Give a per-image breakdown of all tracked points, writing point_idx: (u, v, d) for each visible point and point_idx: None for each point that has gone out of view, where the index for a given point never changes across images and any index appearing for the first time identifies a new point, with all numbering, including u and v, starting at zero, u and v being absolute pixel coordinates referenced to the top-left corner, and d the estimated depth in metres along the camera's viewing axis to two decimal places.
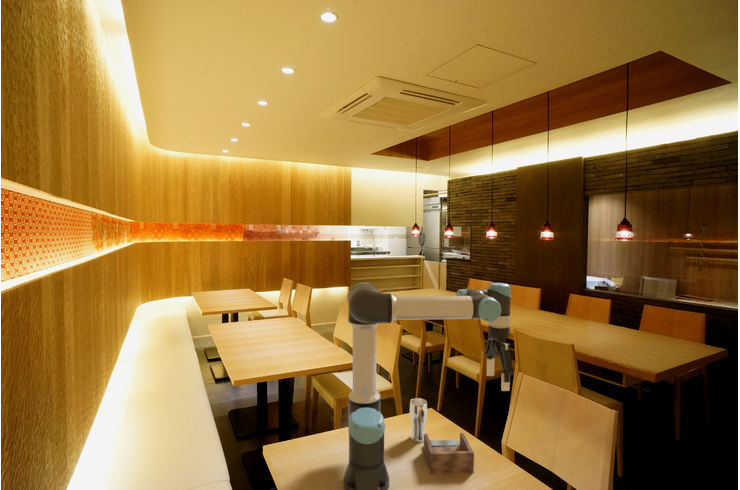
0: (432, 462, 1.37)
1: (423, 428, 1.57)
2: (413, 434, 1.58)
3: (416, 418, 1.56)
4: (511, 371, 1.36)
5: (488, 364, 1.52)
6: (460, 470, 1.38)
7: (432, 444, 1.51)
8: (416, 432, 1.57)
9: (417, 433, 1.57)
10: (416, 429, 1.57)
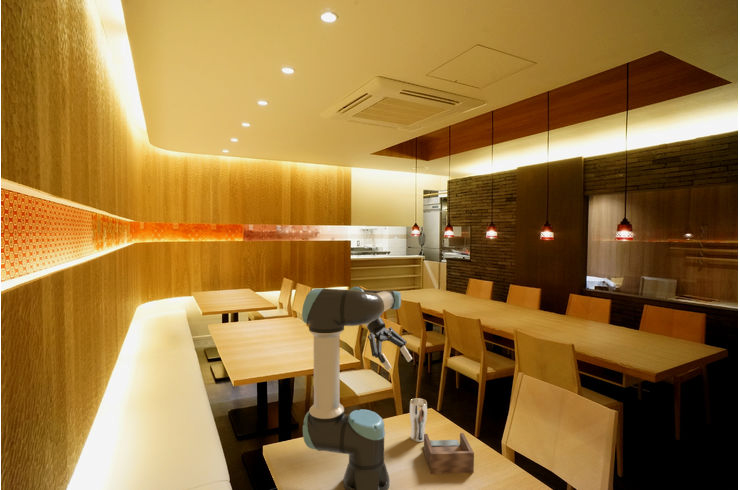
0: (432, 462, 1.37)
1: (423, 428, 1.57)
2: (413, 434, 1.58)
3: (416, 418, 1.56)
4: None
5: None
6: (460, 470, 1.38)
7: (432, 444, 1.51)
8: (416, 432, 1.57)
9: (417, 432, 1.57)
10: (416, 429, 1.57)
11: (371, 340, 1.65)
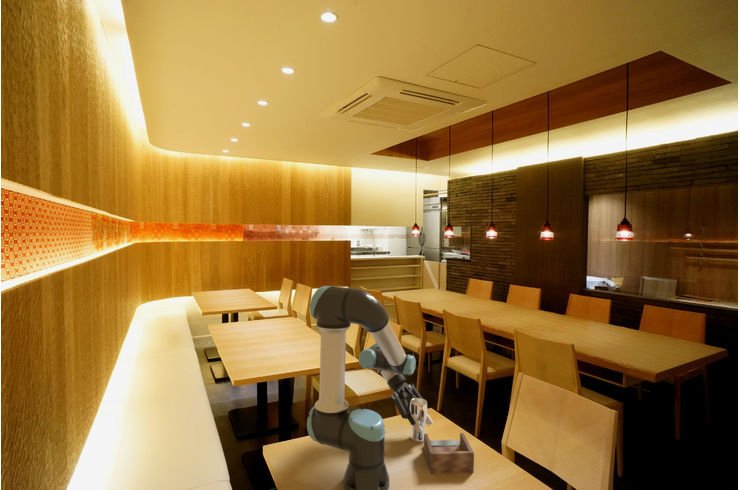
0: (432, 462, 1.37)
1: (423, 428, 1.57)
2: (413, 434, 1.58)
3: (416, 418, 1.56)
4: None
5: None
6: (460, 470, 1.38)
7: (432, 444, 1.51)
8: (416, 432, 1.57)
9: None
10: None
11: (396, 401, 1.58)
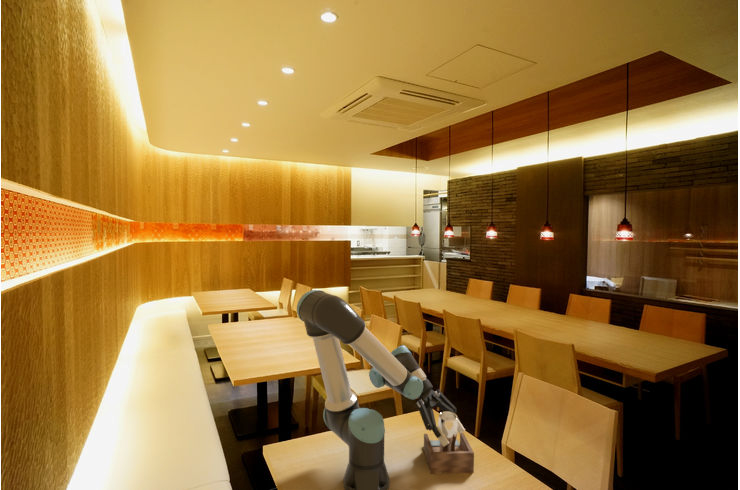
0: (432, 462, 1.37)
1: (453, 445, 1.42)
2: (442, 451, 1.43)
3: (446, 434, 1.40)
4: None
5: None
6: (460, 470, 1.38)
7: (432, 444, 1.51)
8: (446, 449, 1.42)
9: (447, 450, 1.42)
10: (445, 446, 1.42)
11: (421, 409, 1.43)
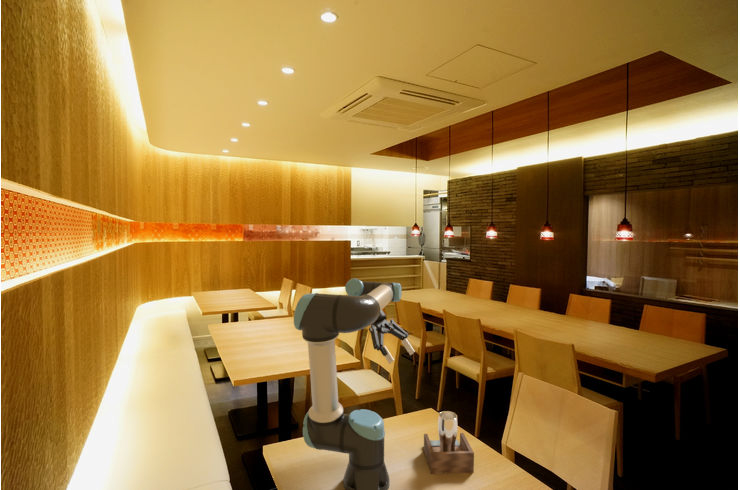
0: (432, 462, 1.37)
1: (453, 445, 1.42)
2: (442, 451, 1.43)
3: (446, 434, 1.41)
4: None
5: None
6: (460, 470, 1.38)
7: (432, 444, 1.51)
8: (446, 449, 1.42)
9: (447, 450, 1.42)
10: (445, 446, 1.42)
11: (372, 332, 1.59)
